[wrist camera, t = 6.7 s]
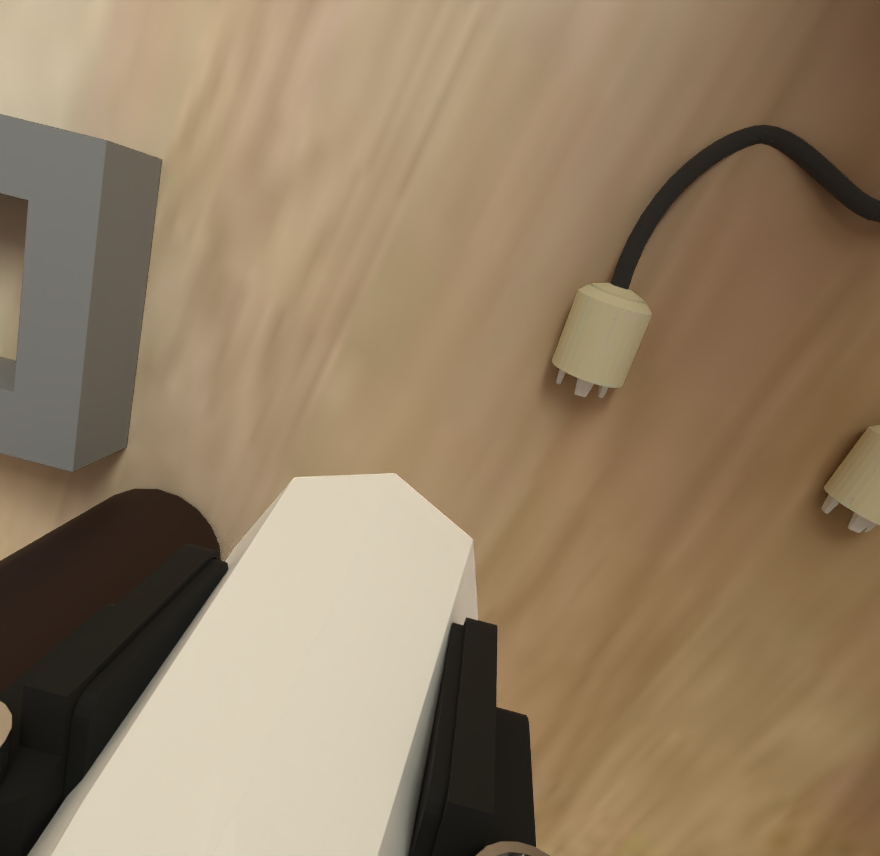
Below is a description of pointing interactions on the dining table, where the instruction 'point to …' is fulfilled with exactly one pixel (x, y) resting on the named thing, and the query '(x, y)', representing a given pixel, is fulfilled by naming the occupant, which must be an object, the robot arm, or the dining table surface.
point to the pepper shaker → (291, 690)
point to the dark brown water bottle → (88, 570)
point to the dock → (75, 292)
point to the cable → (627, 315)
